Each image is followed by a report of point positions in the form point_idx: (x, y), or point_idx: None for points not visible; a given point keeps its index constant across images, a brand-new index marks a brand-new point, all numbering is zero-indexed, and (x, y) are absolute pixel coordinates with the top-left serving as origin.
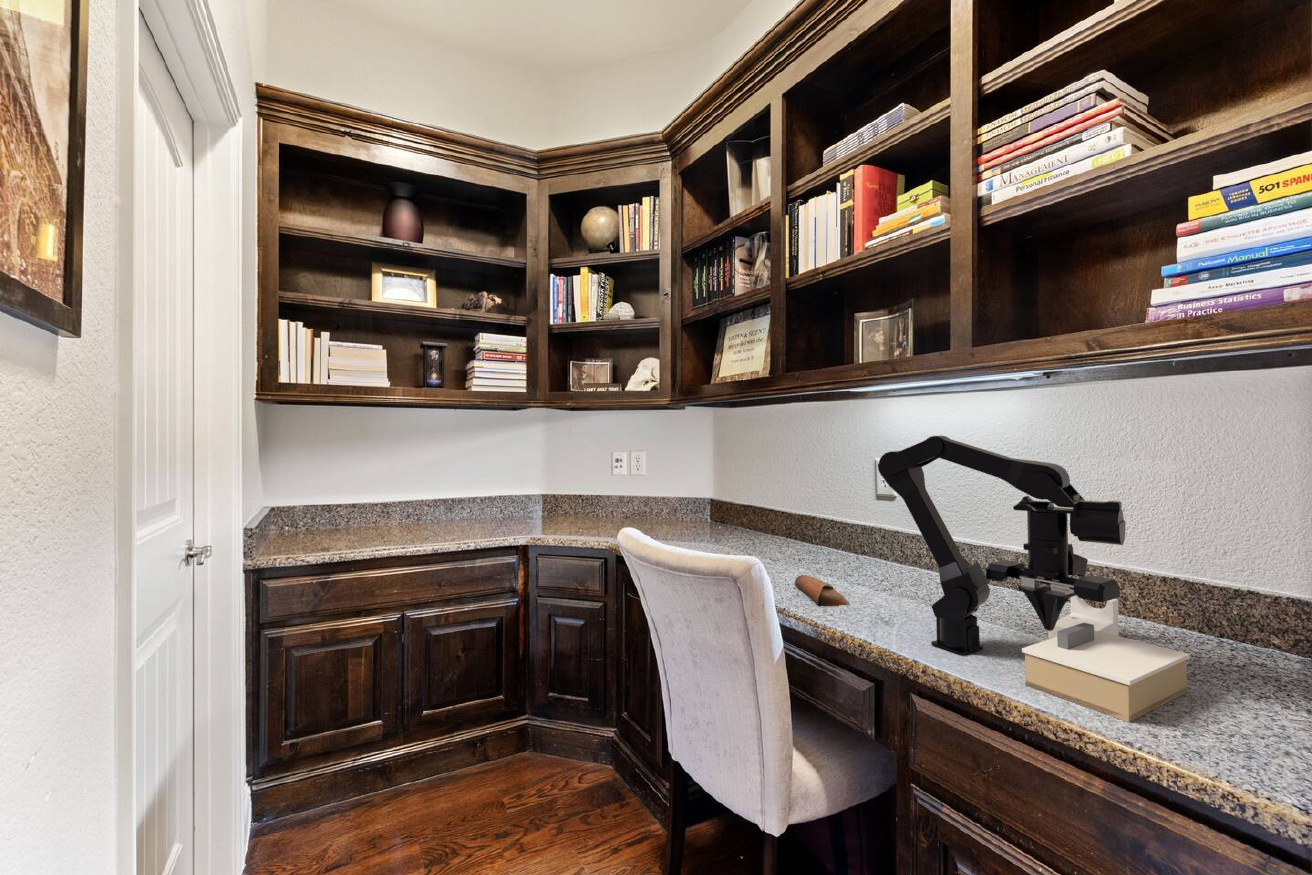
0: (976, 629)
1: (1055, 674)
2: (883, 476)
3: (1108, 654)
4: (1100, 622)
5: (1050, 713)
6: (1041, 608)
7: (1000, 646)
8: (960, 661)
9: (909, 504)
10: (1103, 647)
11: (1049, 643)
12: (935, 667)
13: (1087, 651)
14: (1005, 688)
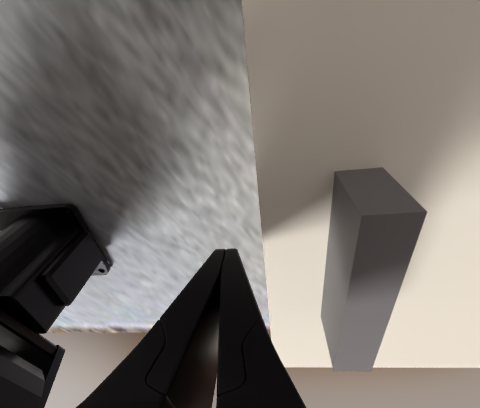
0: (62, 281)
1: None
2: None
3: (468, 269)
4: None
5: None
6: (212, 390)
7: (56, 144)
8: (138, 286)
9: None
10: (439, 221)
11: (290, 310)
12: (152, 326)
13: (402, 291)
14: (263, 312)
